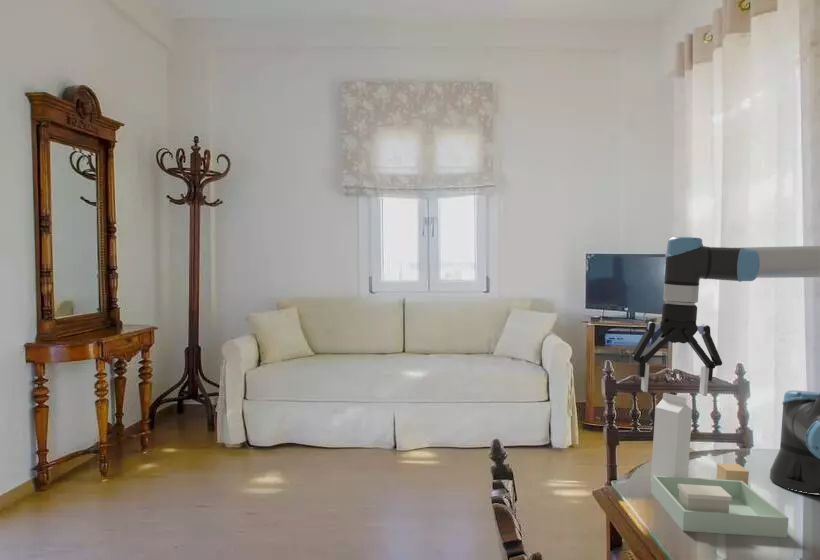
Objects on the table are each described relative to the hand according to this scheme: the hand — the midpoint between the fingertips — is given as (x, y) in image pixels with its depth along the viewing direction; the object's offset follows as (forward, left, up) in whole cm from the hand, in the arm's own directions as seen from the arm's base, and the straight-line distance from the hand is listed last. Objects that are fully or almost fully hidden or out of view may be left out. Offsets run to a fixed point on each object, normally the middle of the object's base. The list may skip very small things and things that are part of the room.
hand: (673, 392), depth 151 cm
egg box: (0, +22, -22) cm, 31 cm away
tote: (-4, +16, -23) cm, 28 cm away
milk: (0, 0, -23) cm, 23 cm away
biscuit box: (-14, +1, -23) cm, 27 cm away
